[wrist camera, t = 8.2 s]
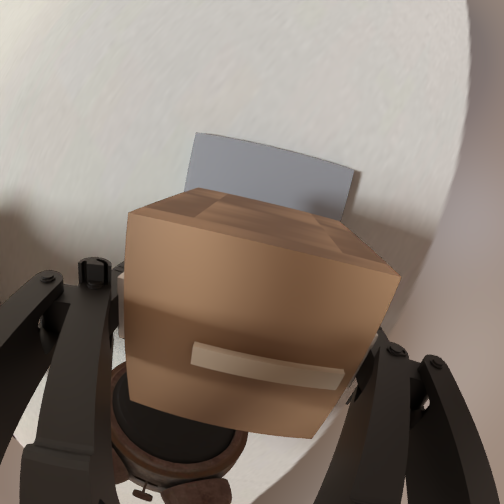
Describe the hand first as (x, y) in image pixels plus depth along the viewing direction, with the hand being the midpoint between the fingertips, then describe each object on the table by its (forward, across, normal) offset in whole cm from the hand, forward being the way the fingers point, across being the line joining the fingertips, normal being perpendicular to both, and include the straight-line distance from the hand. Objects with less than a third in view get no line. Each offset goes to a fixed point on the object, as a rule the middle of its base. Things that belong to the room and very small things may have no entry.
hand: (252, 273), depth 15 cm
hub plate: (+9, 0, 0) cm, 9 cm away
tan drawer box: (+1, 0, 0) cm, 1 cm away
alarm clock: (+9, -4, -17) cm, 20 cm away
